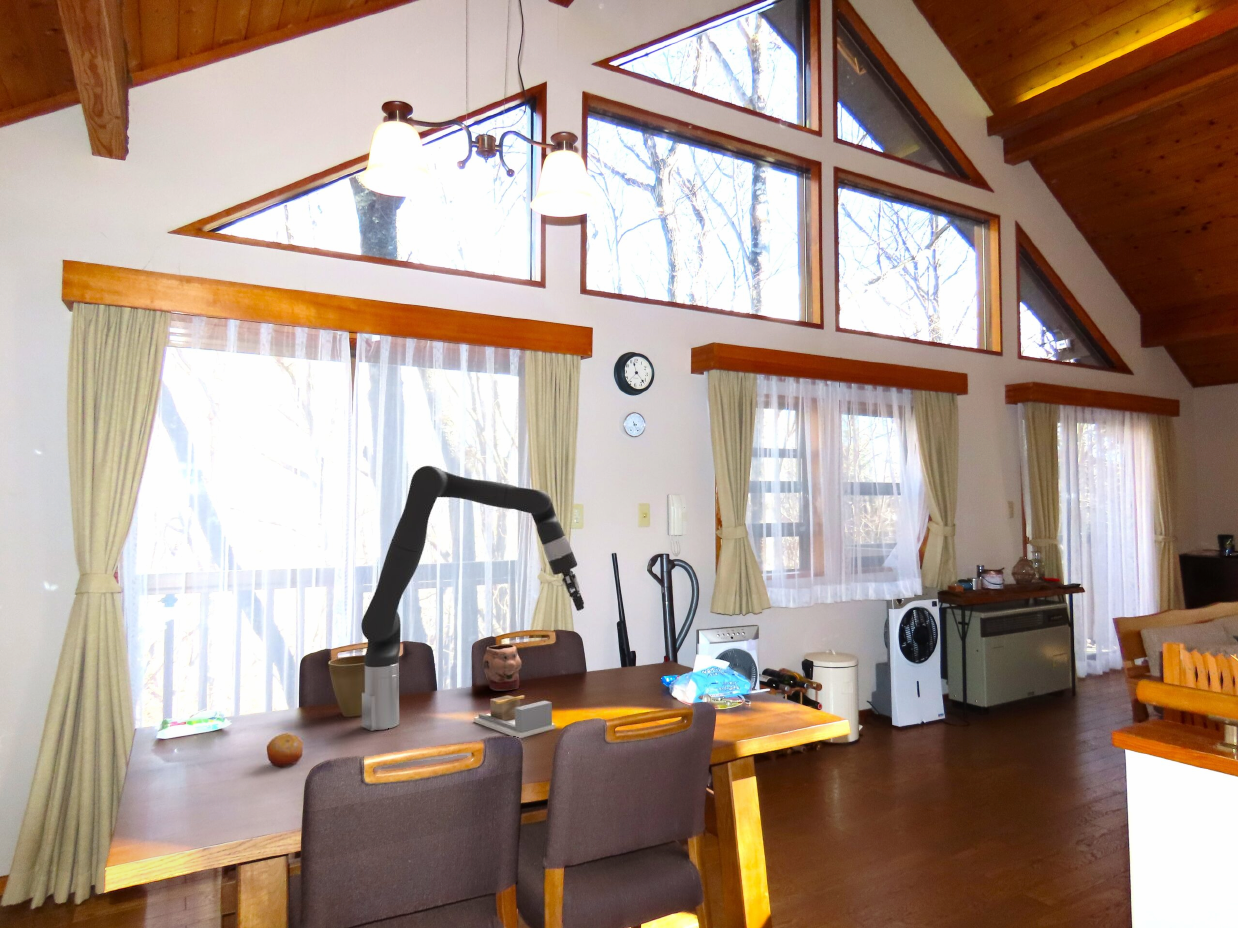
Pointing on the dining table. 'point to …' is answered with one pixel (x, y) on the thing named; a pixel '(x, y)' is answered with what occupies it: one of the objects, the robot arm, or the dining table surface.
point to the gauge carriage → (504, 707)
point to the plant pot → (348, 683)
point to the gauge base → (522, 720)
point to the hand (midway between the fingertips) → (580, 607)
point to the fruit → (284, 750)
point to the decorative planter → (502, 667)
